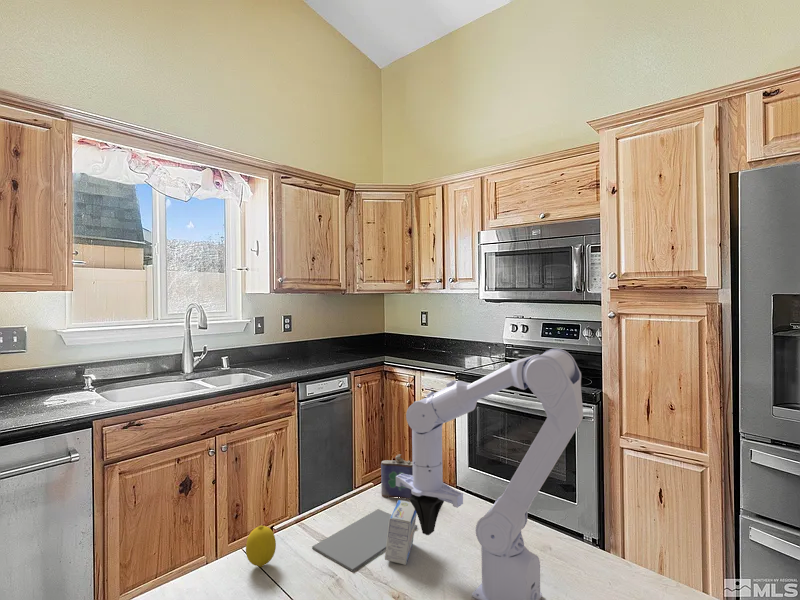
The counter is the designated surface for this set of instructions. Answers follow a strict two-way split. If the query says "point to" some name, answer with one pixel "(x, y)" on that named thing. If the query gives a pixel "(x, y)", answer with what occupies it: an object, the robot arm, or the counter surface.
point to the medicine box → (400, 532)
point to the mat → (357, 541)
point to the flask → (389, 477)
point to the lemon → (260, 546)
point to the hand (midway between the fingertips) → (428, 532)
